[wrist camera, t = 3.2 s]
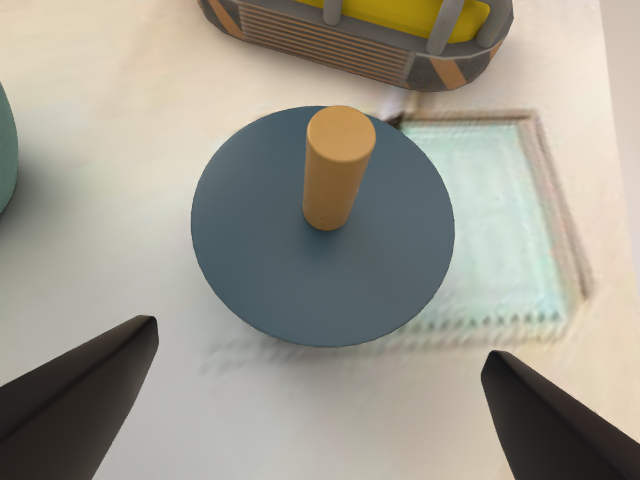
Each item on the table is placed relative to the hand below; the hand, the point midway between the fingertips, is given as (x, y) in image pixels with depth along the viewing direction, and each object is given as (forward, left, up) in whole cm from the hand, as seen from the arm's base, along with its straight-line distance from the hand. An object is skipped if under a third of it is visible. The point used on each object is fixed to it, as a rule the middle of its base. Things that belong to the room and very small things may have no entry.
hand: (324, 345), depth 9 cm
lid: (+6, +3, -6) cm, 10 cm away
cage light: (+30, +12, -14) cm, 35 cm away
